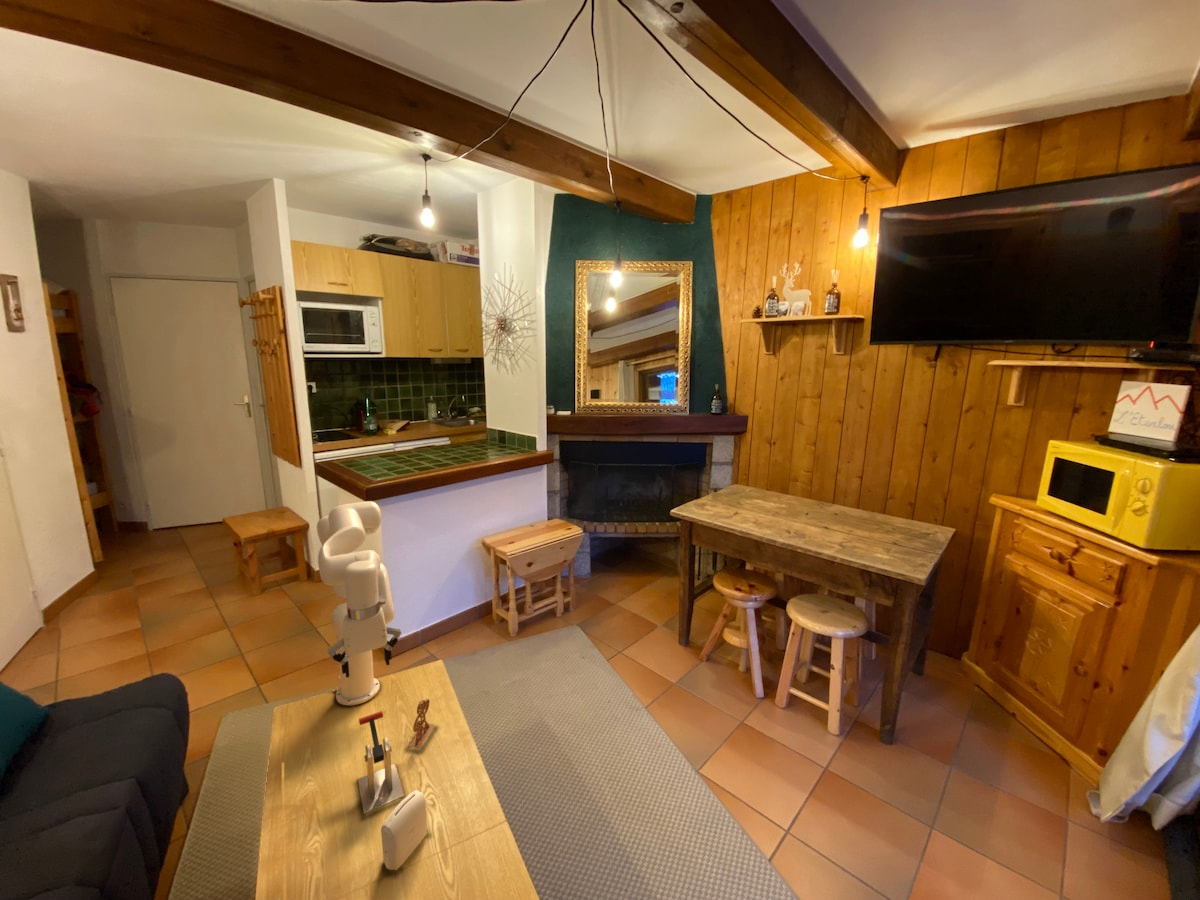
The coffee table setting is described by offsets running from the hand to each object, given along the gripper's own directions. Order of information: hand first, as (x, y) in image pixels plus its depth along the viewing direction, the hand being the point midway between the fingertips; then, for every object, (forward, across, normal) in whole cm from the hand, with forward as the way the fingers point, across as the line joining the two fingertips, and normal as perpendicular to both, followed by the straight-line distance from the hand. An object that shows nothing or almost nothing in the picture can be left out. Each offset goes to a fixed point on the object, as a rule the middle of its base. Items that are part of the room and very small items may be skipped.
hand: (367, 668), depth 126 cm
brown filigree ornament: (+26, -13, +2) cm, 29 cm away
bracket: (+26, 0, +13) cm, 30 cm away
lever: (+15, 0, +9) cm, 17 cm away
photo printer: (+26, -2, +32) cm, 42 cm away
